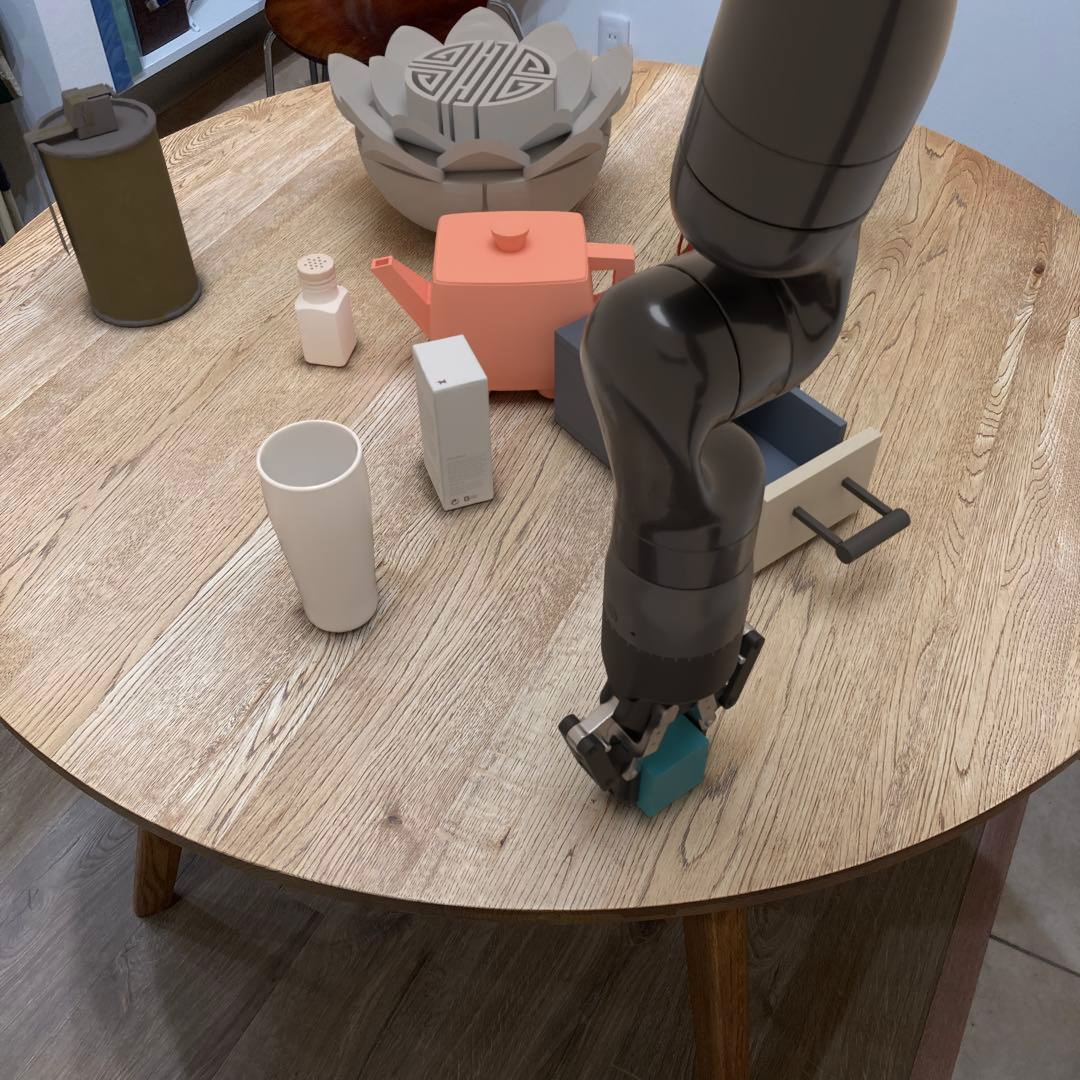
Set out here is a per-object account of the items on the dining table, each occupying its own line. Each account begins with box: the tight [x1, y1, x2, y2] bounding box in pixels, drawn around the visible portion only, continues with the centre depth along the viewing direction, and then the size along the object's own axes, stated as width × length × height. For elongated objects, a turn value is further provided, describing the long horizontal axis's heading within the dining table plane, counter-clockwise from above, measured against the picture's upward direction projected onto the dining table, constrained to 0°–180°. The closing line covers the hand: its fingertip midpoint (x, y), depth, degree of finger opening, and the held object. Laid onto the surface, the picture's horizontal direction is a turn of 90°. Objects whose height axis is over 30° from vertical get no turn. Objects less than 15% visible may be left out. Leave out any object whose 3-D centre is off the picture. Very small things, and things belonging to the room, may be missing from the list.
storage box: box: [553, 315, 802, 471], centre depth 89 cm, size 15×13×9 cm
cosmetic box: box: [411, 335, 495, 511], centre depth 84 cm, size 6×4×12 cm
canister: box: [22, 83, 203, 327], centre depth 100 cm, size 11×10×20 cm
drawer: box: [731, 387, 912, 574], centre depth 82 cm, size 19×12×7 cm, turn 36°
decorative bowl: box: [327, 6, 634, 234], centre depth 112 cm, size 30×30×15 cm
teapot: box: [370, 211, 636, 399], centre depth 94 cm, size 22×13×14 cm, turn 91°
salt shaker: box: [294, 252, 357, 368], centre depth 97 cm, size 4×4×10 cm
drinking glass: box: [255, 419, 380, 633], centre depth 74 cm, size 7×7×15 cm
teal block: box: [621, 714, 711, 819], centre depth 68 cm, size 4×4×5 cm
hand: (654, 772), depth 70 cm, fingers closed on teal block, 4 cm apart
